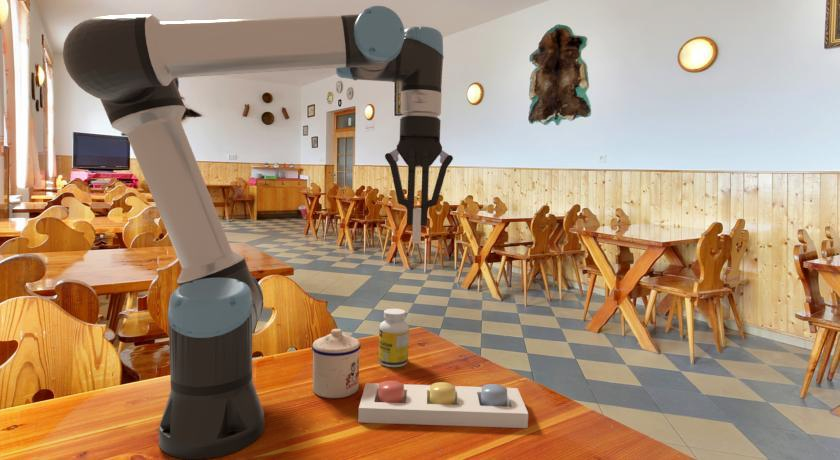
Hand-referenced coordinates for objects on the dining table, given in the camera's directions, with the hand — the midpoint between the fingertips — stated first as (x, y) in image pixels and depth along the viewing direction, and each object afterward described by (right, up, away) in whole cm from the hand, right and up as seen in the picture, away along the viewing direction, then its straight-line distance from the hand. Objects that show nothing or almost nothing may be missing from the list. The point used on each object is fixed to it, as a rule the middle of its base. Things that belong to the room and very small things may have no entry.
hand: (416, 242), depth 95 cm
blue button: (+14, -29, -8) cm, 33 cm away
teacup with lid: (-15, -28, +2) cm, 32 cm away
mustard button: (+5, -29, -8) cm, 30 cm away
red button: (-4, -28, -8) cm, 30 cm away
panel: (+5, -29, -8) cm, 31 cm away
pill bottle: (-5, -27, +14) cm, 31 cm away
